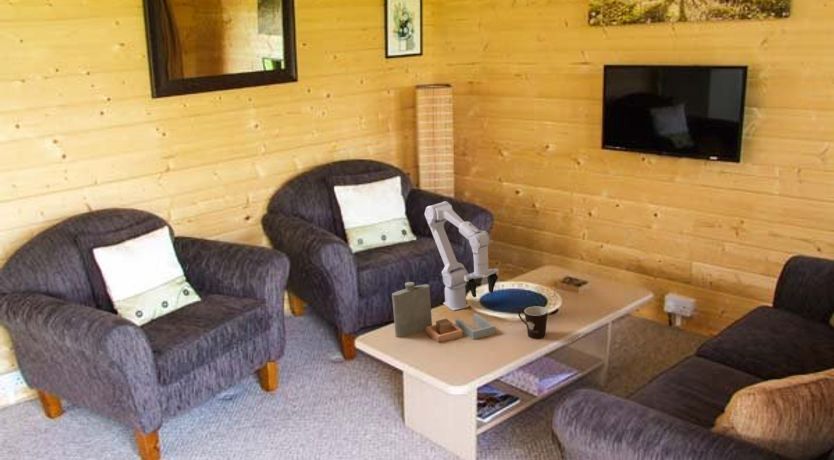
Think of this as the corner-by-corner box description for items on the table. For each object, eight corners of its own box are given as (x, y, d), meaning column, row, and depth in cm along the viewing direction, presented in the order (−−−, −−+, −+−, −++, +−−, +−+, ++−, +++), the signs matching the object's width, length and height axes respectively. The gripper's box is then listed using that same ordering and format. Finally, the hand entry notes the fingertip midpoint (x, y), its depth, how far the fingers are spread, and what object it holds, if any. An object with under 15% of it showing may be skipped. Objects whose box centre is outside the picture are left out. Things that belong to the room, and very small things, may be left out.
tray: (426, 332, 296) (426, 327, 296) (450, 326, 300) (450, 320, 300) (438, 342, 287) (437, 336, 287) (462, 336, 291) (462, 330, 291)
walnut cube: (436, 331, 295) (435, 321, 294) (447, 329, 297) (446, 318, 295) (441, 336, 291) (440, 325, 290) (452, 333, 293) (451, 322, 291)
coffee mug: (552, 337, 285) (552, 312, 282) (532, 342, 282) (531, 317, 279) (536, 325, 296) (536, 301, 293) (516, 330, 293) (516, 306, 290)
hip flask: (397, 338, 294) (393, 289, 288) (393, 334, 297) (388, 286, 291) (433, 327, 301) (430, 279, 295) (428, 324, 304) (425, 277, 298)
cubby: (455, 325, 301) (455, 318, 300) (476, 320, 305) (476, 313, 304) (473, 339, 288) (473, 332, 287) (495, 333, 292) (494, 326, 291)
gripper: (469, 268, 295) (471, 301, 299) (502, 261, 300) (503, 293, 304) (461, 263, 301) (462, 295, 305) (493, 256, 307) (494, 288, 311)
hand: (482, 294), depth 305 cm, fingers open, 7 cm apart
